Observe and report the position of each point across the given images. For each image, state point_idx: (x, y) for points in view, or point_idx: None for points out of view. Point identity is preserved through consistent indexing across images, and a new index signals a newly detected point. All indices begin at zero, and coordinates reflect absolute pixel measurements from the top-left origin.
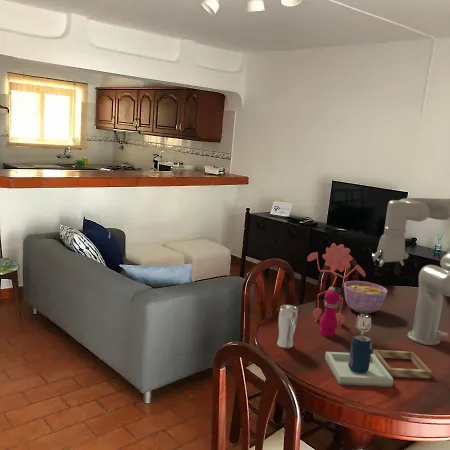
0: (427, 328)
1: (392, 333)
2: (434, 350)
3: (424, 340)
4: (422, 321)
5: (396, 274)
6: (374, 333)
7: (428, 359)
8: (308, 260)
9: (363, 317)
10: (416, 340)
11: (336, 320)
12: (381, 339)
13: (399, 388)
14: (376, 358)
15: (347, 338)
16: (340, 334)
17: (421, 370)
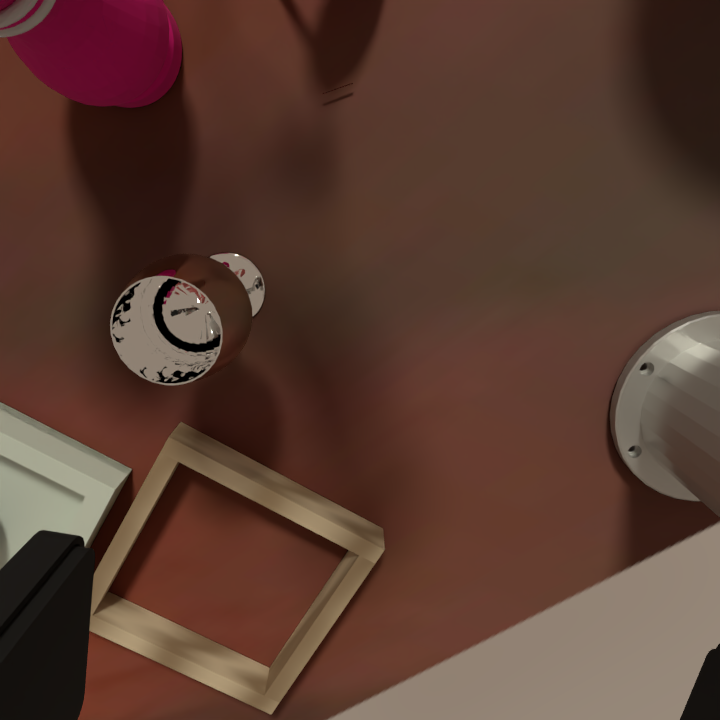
0: (701, 499)
1: (602, 255)
2: (602, 526)
3: (651, 454)
4: (714, 486)
5: (691, 705)
6: (478, 199)
7: (456, 575)
8: None
9: (217, 281)
10: (614, 423)
11: (106, 77)
12: (436, 291)
13: None
14: (88, 528)
15: (217, 178)
16: (217, 102)
17: (230, 689)
